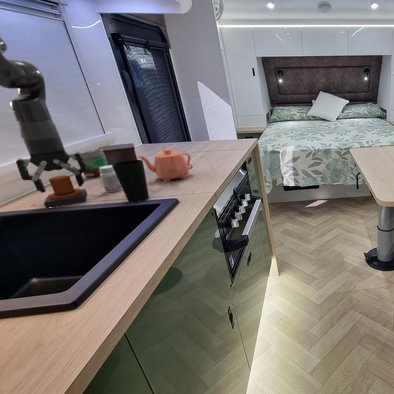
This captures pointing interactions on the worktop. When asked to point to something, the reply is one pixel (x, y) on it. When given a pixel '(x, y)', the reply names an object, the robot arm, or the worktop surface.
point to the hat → (63, 188)
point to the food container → (94, 162)
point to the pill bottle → (109, 179)
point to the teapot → (169, 164)
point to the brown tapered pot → (119, 153)
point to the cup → (132, 179)
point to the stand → (66, 200)
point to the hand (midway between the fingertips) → (62, 188)
